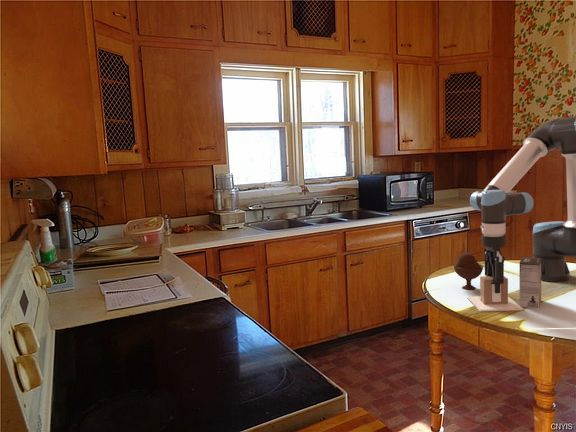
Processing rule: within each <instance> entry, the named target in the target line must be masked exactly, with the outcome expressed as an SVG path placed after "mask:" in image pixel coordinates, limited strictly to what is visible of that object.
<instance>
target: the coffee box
mask: <svg viewBox="0 0 576 432" xmlns="http://www.w3.org/2000/svg"><path fill="white" fill-rule="evenodd" d="M541 264H542V258H533V257H532V256H531V257H529V256H523V257H521V258H520V260H519V306H521V307H522V308H529V309H531V308H532V309H537V310H538V309H541V305H542V304H541V303H542V280H541V266H542V265H541Z"/></svg>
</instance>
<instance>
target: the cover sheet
mask: <svg viewBox="0 0 576 432" xmlns="http://www.w3.org/2000/svg"><path fill="white" fill-rule="evenodd" d="M491 282H493V276H485V275H484V276H479V284H480V285H479V286H480V287H479V291H480V292H479V294H480V295H476V296H475V295H474V296H467V298H468V299H469V300H470V301H471V302H472V303H473V304H474V305H473V304H472V303H471V302H470V301H469V300H468V299H467V300H468V301H469V302H470V303H471V304H472V305H473V306H474V308H475V309H476V308H477V309H478V310H479V311H491V312H514V311H513V310H524V307H521V306H520V304H518V303H517V301H514V300H513V299H512V298H511V297H510V296H509V278H508V277H506V276H505V275H504V283H503V284H501V302H492V284H491ZM478 310H477V311H478ZM479 311H478V312H479Z"/></svg>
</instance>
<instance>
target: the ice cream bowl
mask: <svg viewBox="0 0 576 432" xmlns="http://www.w3.org/2000/svg"><path fill="white" fill-rule="evenodd" d="M453 269H454V271H455V274H457V275H458V276H459V277H461V278H462V279H465V282H466V284H465V285H463V286H462V287H461V289H463V290H466V291H475V290H476V289H477V288H476V287H475V286H474V285H473V284H472V280H474V279H477V278H478V277H480V276H481V274H482V272H483V270H484V265H483V264H480V263H479V262H478V261H477V259H476V257H475V256H474V254H472V253H470V252H463V253H461V254H459V256H458V259H457V260H456V263H455V264H454V265H453Z"/></svg>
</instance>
